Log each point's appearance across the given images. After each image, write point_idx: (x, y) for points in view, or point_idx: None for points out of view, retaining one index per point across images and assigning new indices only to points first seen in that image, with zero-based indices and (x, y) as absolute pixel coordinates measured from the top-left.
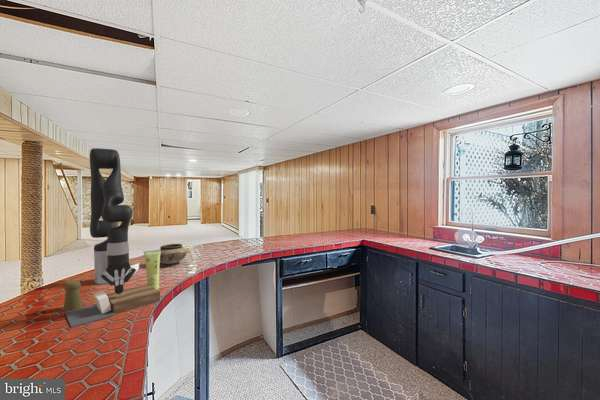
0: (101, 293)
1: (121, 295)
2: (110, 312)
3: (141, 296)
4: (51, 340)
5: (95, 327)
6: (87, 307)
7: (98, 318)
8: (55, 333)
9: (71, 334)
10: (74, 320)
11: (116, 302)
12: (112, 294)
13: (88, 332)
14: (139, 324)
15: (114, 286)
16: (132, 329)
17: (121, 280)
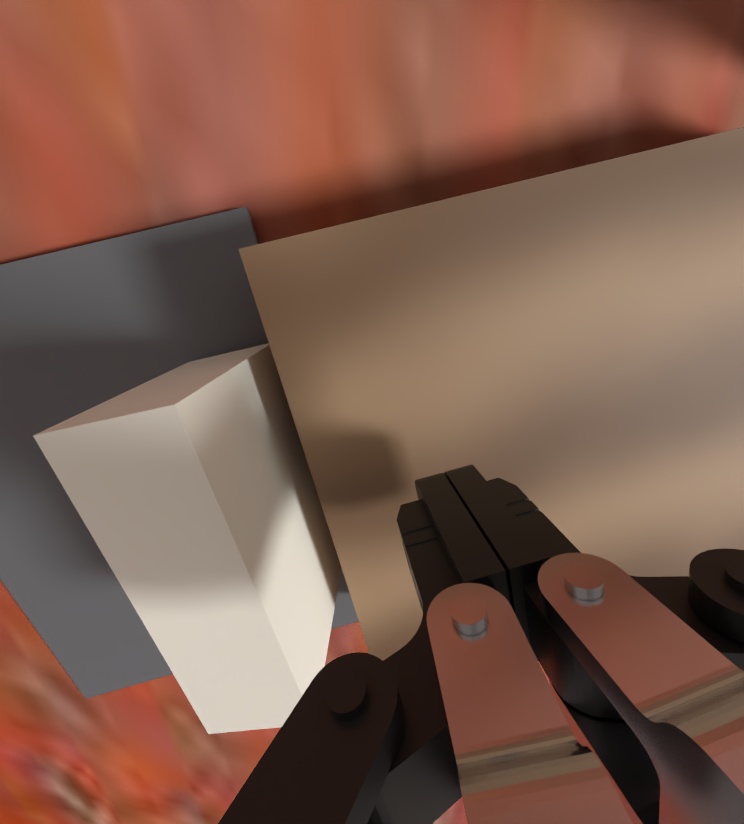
0: (191, 539)
1: (462, 434)
2: None
3: None
4: (31, 795)
5: (260, 733)
6: (66, 296)
7: None
8: (6, 724)
9: (131, 767)
10: (60, 601)
11: (398, 641)
12: (349, 307)
13: (231, 775)
14: None
15: (419, 594)
16: (453, 811)
17: (641, 792)
